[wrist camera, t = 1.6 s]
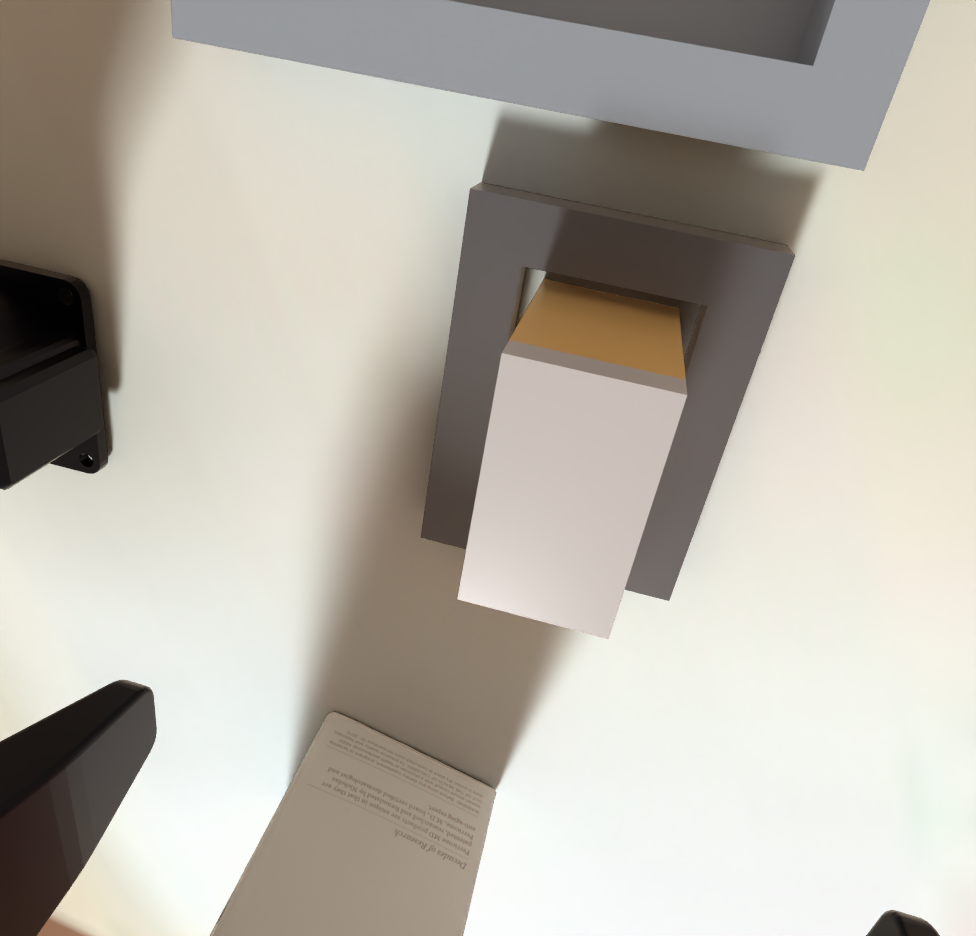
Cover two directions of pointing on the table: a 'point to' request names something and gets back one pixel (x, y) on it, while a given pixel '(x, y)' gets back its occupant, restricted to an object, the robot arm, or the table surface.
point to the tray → (613, 59)
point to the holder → (623, 263)
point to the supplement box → (364, 844)
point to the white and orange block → (573, 455)
